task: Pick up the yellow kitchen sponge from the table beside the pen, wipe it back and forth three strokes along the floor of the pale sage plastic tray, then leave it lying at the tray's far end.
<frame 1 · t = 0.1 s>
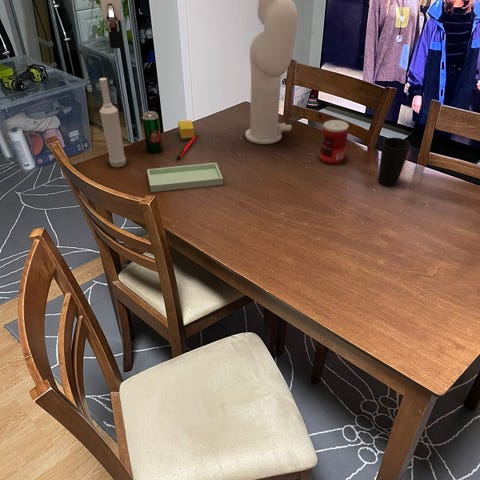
hand: (116, 43, 137), 31 cm above the table, tool pointing down, fingers open, 9 cm apart
cup: (387, 182, 143), on the table
pen: (187, 148, 159), on the table
soda can: (154, 151, 157), on the table
canned food: (331, 159, 154), on the table
sponge: (186, 136, 165), on the table
bottle: (118, 164, 150), on the table
tray: (185, 180, 143), on the table
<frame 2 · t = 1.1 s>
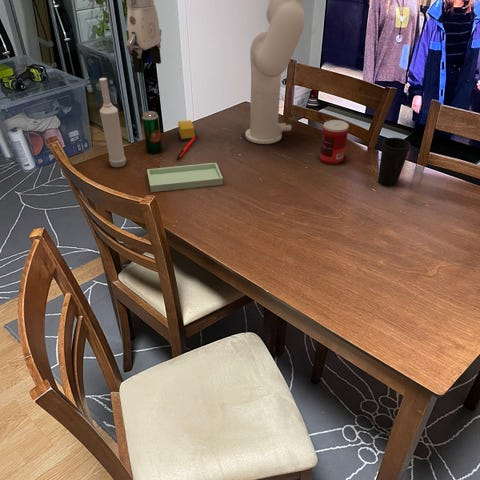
hand: (147, 67, 145), 24 cm above the table, tool pointing down, fingers open, 9 cm apart
pen: (187, 148, 159), on the table, touching sponge
sponge: (186, 136, 165), on the table, touching pen
everything else where it was.
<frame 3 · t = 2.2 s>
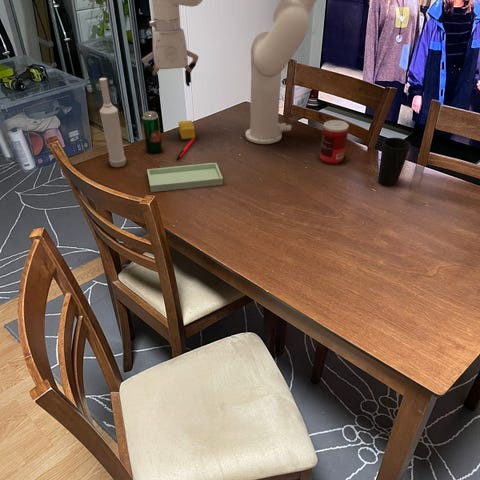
hand: (172, 86, 152), 17 cm above the table, tool pointing down, fingers open, 9 cm apart
pen: (187, 149, 159), on the table
sponge: (187, 136, 165), on the table
everything else where it was.
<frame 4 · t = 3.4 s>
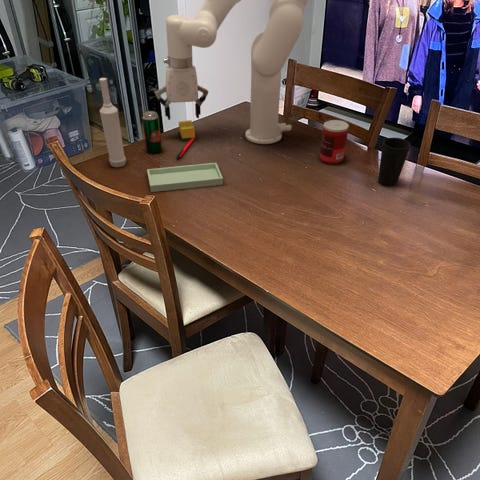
hand: (183, 117, 161), 6 cm above the table, tool pointing down, fingers open, 9 cm apart
nothing on the table moved.
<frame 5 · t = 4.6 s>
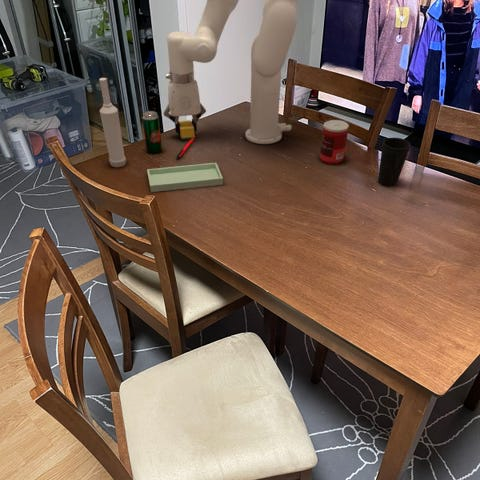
hand: (186, 133, 165), 1 cm above the table, tool pointing down, fingers closed on sponge, 4 cm apart
sponge: (186, 136, 165), on the table, touching gripper
everything else where it was.
when the fingers open (2 cm above the table, at t = 19.4 s): sponge stays where it is, resting on tray.
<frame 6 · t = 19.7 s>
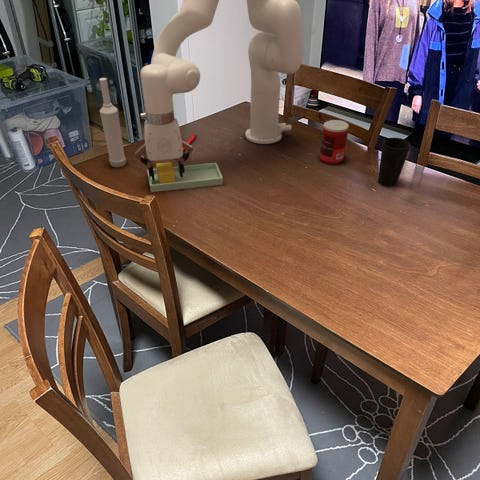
hand: (167, 176, 141), 2 cm above the table, tool pointing down, fingers open, 7 cm apart
sponge: (166, 180, 141), point 1 cm above the table, touching tray
everything else where it was.
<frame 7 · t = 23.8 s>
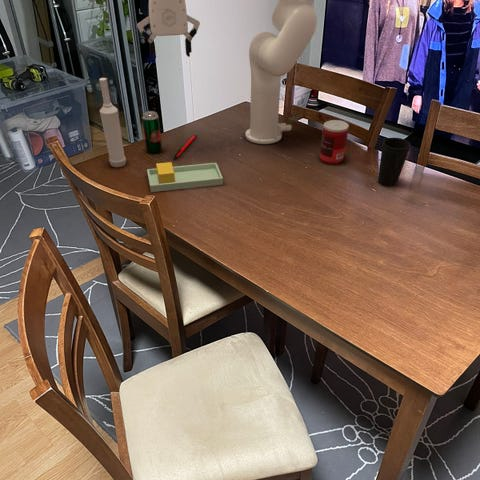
hand: (171, 56, 137), 28 cm above the table, tool pointing down, fingers open, 9 cm apart
nothing on the table moved.
at the end: sponge inside the target area in the tray (0.4 cm from its centre), point 0.6 cm above the tray's base; the gripper is holding nothing; sponge moved 33.1 cm from its start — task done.
